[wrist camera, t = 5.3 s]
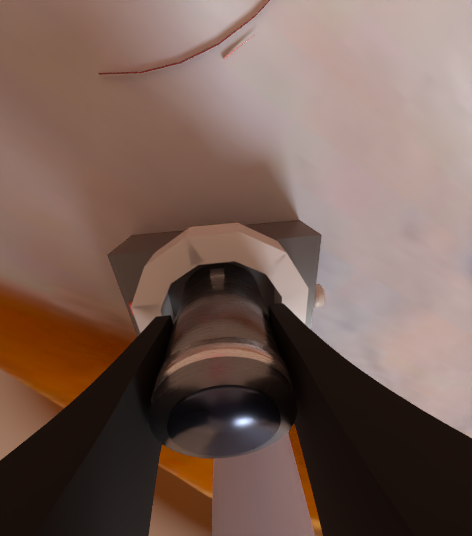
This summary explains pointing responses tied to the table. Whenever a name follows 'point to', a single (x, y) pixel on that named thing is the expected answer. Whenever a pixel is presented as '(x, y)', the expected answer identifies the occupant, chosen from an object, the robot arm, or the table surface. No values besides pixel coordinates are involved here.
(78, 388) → the table surface
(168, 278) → the camera body
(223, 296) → the lens
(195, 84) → the table surface
